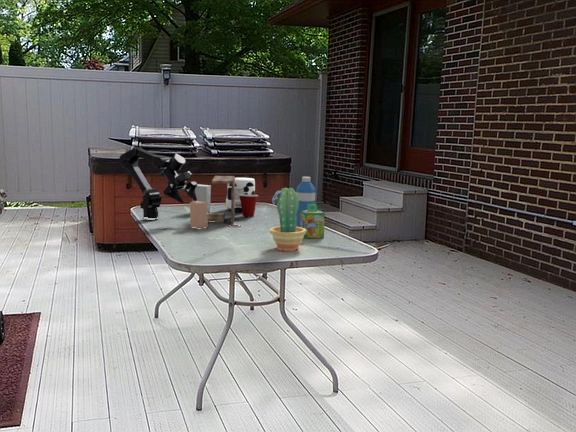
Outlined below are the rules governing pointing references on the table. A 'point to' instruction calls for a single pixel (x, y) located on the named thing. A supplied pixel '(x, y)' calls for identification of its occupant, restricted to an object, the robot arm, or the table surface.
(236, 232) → the table surface
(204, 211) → the terracotta box
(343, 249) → the table surface
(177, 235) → the table surface
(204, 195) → the skincare box
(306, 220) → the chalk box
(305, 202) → the water bottle
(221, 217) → the shelf
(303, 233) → the potted cactus
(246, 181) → the milk container
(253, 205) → the plastic cup
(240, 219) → the table surface
